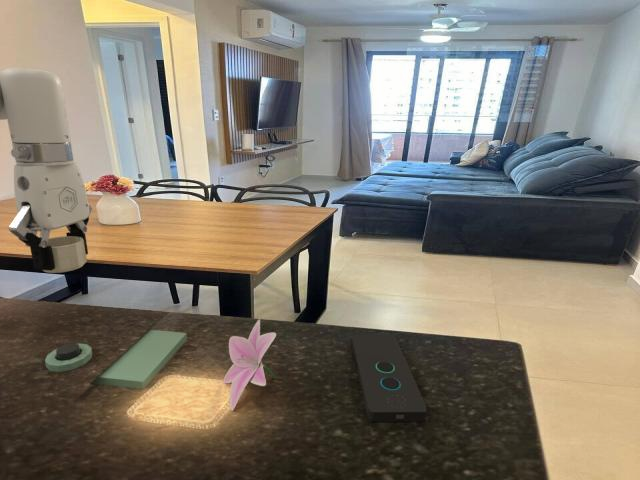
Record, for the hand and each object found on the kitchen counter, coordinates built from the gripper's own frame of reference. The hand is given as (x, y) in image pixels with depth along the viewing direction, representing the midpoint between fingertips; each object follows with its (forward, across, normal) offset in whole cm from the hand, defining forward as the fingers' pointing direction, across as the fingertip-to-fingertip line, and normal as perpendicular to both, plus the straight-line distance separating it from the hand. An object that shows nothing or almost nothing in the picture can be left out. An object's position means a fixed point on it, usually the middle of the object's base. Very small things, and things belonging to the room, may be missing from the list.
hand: (62, 260), depth 65 cm
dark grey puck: (+12, -9, -6) cm, 16 cm away
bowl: (+1, 0, 0) cm, 1 cm away
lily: (+15, -9, -35) cm, 39 cm away
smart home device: (+15, -3, -55) cm, 57 cm away
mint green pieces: (+15, -5, -12) cm, 19 cm away
